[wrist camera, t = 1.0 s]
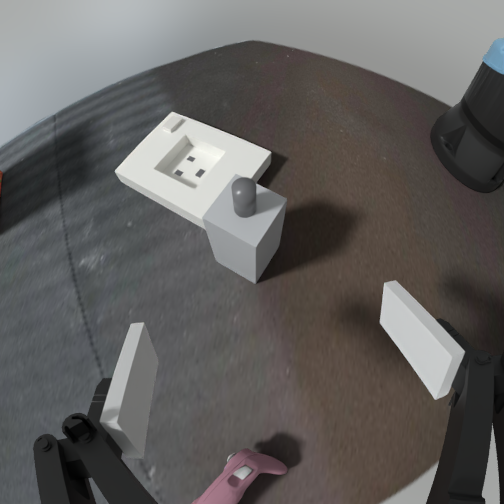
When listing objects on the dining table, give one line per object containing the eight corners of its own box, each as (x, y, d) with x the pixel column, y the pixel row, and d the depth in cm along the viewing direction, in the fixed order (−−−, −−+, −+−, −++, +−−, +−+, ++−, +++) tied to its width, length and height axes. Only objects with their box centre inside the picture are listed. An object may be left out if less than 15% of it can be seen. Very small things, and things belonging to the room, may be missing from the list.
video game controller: (259, 443, 28) (230, 440, 23) (293, 466, 25) (271, 470, 20) (208, 504, 25) (170, 510, 20) (238, 528, 22) (205, 542, 17)
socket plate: (270, 163, 39) (271, 148, 36) (217, 236, 35) (214, 224, 32) (175, 123, 42) (171, 109, 39) (120, 181, 38) (112, 168, 35)
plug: (278, 246, 34) (290, 177, 22) (255, 284, 33) (255, 230, 21) (235, 223, 35) (226, 148, 23) (211, 258, 34) (188, 194, 22)
